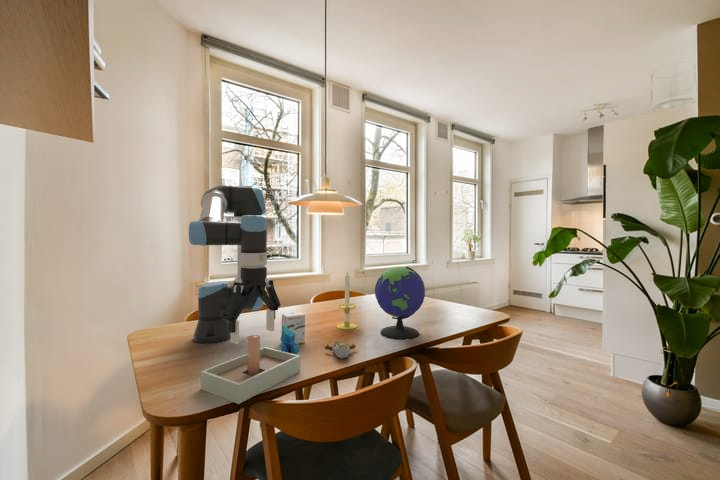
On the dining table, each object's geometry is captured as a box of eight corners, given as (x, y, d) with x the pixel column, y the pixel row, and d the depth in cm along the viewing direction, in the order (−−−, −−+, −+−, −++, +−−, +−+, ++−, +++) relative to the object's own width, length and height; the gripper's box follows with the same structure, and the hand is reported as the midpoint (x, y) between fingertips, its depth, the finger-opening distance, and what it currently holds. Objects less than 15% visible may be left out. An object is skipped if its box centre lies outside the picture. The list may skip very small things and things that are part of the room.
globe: (385, 324, 161) (385, 263, 160) (430, 330, 151) (430, 265, 151) (366, 337, 141) (366, 267, 140) (416, 344, 131) (417, 270, 131)
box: (200, 389, 92) (200, 371, 92) (264, 361, 113) (264, 346, 113) (238, 404, 84) (238, 384, 84) (300, 371, 105) (300, 355, 105)
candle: (357, 329, 152) (357, 271, 151) (335, 329, 152) (335, 271, 151) (357, 323, 161) (357, 269, 161) (337, 323, 162) (337, 269, 161)
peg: (244, 380, 98) (244, 337, 98) (254, 376, 101) (254, 334, 101) (253, 383, 96) (253, 339, 96) (262, 378, 99) (262, 336, 99)
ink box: (285, 346, 128) (285, 316, 128) (280, 342, 133) (281, 313, 132) (305, 342, 133) (305, 313, 133) (300, 339, 137) (300, 311, 137)
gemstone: (276, 364, 111) (276, 328, 111) (281, 354, 119) (281, 322, 119) (298, 363, 111) (298, 328, 111) (301, 354, 120) (302, 321, 120)
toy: (353, 336, 130) (360, 343, 115) (353, 350, 129) (360, 359, 115) (323, 337, 128) (326, 345, 113) (323, 351, 127) (326, 361, 113)
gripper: (226, 272, 86) (226, 351, 86) (291, 263, 107) (291, 327, 108) (208, 269, 89) (208, 346, 90) (275, 262, 111) (274, 324, 112)
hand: (253, 336), depth 99 cm, fingers open, 13 cm apart
